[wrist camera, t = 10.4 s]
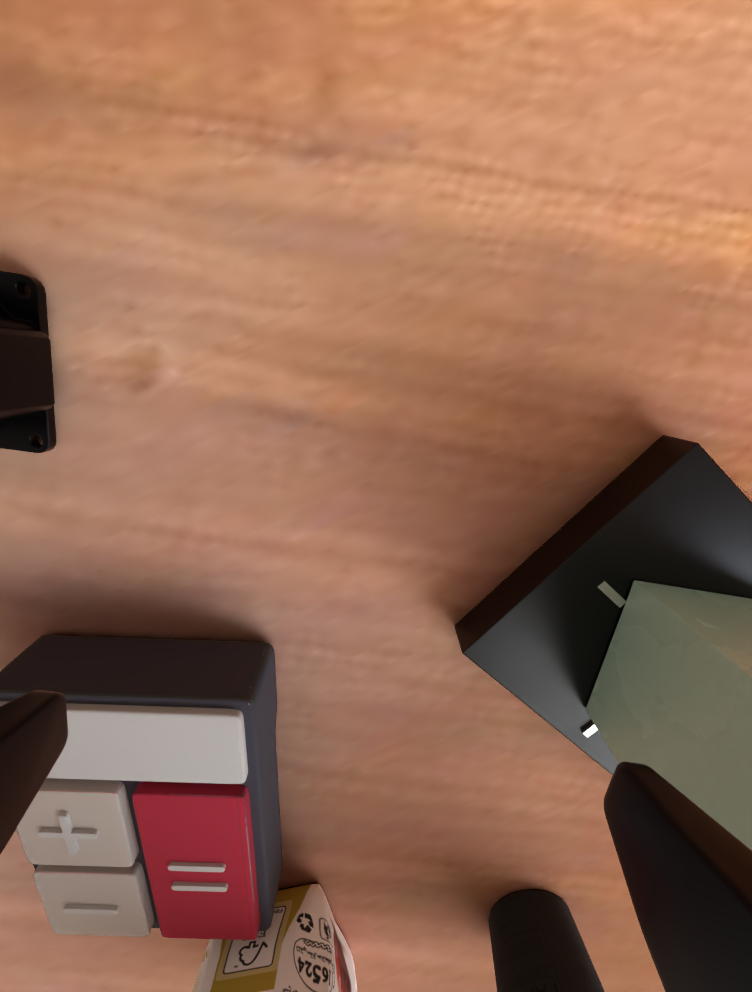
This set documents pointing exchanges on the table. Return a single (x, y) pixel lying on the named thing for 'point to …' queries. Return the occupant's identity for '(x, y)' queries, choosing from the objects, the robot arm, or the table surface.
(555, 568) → the black square clock
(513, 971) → the drinking cup
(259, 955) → the juice carton
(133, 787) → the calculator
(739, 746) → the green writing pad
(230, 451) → the table surface
